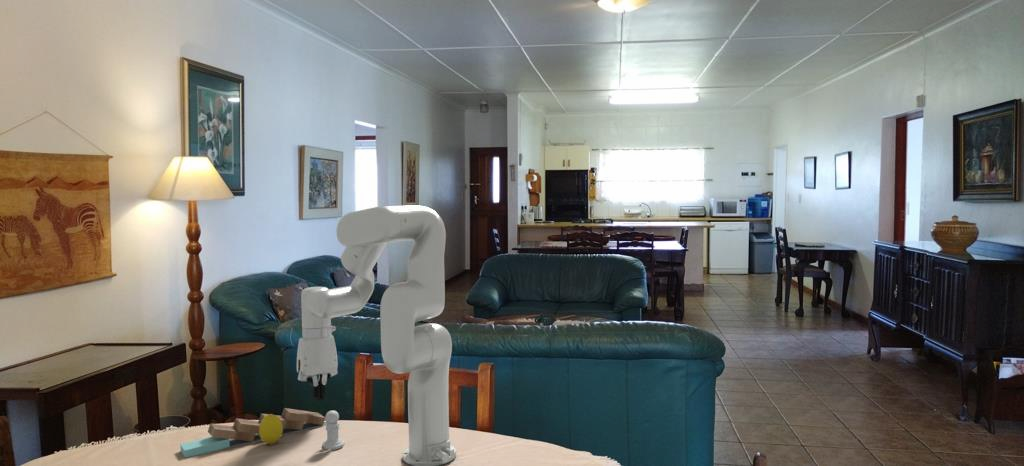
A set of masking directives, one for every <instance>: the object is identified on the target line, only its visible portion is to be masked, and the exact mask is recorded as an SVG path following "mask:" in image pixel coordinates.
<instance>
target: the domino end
mask: <svg viewBox="0 0 1024 466" xmlns="http://www.w3.org/2000/svg"><path fill="white" fill-rule="evenodd" d="M227 447H230V444H229V439H225V438H216V437H212V436H211V435H210V436H207V437H204V438H200V439H196V440H193V441H188V442H185V443H181V444H180V452H181V453H182V455H183V456H184V458H189V457H194V456H198V455H202V454H206V453H210V452H216V451H219V450H224V449H223V448H227ZM227 449H228V448H227Z"/></svg>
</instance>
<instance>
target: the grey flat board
mask: <svg viewBox="0 0 1024 466" xmlns="http://www.w3.org/2000/svg"><path fill="white" fill-rule="evenodd" d="M324 421H326V419H325V420H324ZM326 424H327V422H324V424H323V425H319V424H312V423H304V424H303V428H302V430H296V429H286V428H283V432H282V435H281V437H282V436H286V435H291V434H294V433H298V432H303V431H308V430H311V429H316V428H319V427H323V426H325V427H326ZM260 441H262V440H261V438H260V435H259V434H255V437H254V440H253V441H244V440H234V439H229V444H230V447H227V448H223V449H222V450H226V449H227V450H228V449H230V448H235V447H239V446H243V445H247V444H253V443H256V442H260Z"/></svg>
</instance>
